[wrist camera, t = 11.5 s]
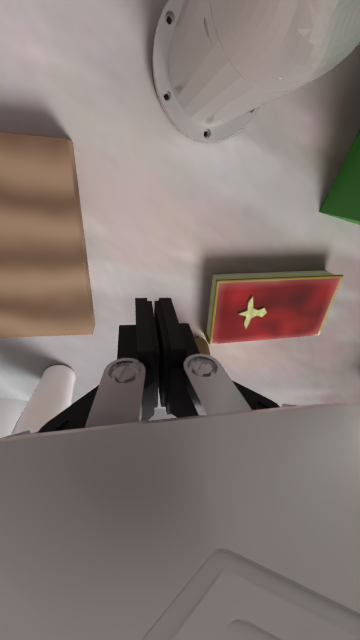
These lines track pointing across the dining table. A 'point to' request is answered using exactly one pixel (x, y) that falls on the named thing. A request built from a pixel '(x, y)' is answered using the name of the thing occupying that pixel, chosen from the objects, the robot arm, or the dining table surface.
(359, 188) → the hardback book
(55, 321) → the walnut board
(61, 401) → the drinking glass
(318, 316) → the hardcover book
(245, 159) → the dining table surface
